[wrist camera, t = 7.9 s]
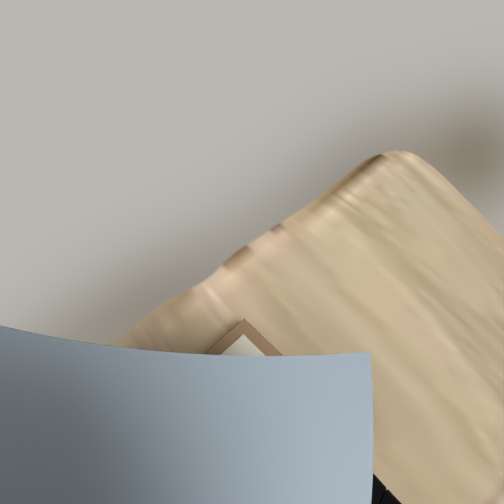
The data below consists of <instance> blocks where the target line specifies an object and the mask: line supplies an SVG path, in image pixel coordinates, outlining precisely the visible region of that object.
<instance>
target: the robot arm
mask: <svg viewBox="0 0 504 504" xmlns="http://www.w3.org/2000/svg"><path fill="white" fill-rule="evenodd" d="M371 504H401V503H400V502H399V501H398V500H397V499H396V498H395V496H394V495H393V494H392V493H391V492H390V491H389V490H386V487H385V486H384V485H383V483H382V482H381V481H380V480H379V479H378V478H377V477H376V476H375V475H374V473H373V483H372V499H371Z"/></svg>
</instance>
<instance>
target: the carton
mask: <svg viewBox="0 0 504 504" xmlns="http://www.w3.org/2000/svg"><path fill="white" fill-rule="evenodd" d="M373 451H374V423H373V390H372V371H371V357H370V352H363V353H349V354H332V355H306V356H233V355H207V354H190V353H175V352H163V351H152V350H142V349H132V348H124V347H115V346H108V345H100V344H93V343H87V342H80V341H74V340H68V339H62V338H57V337H51V336H46V335H41V334H36V333H31V332H27V331H22V330H17V329H13V328H9V327H5V326H1V325H0V504H371V499H372V483H373Z"/></svg>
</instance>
